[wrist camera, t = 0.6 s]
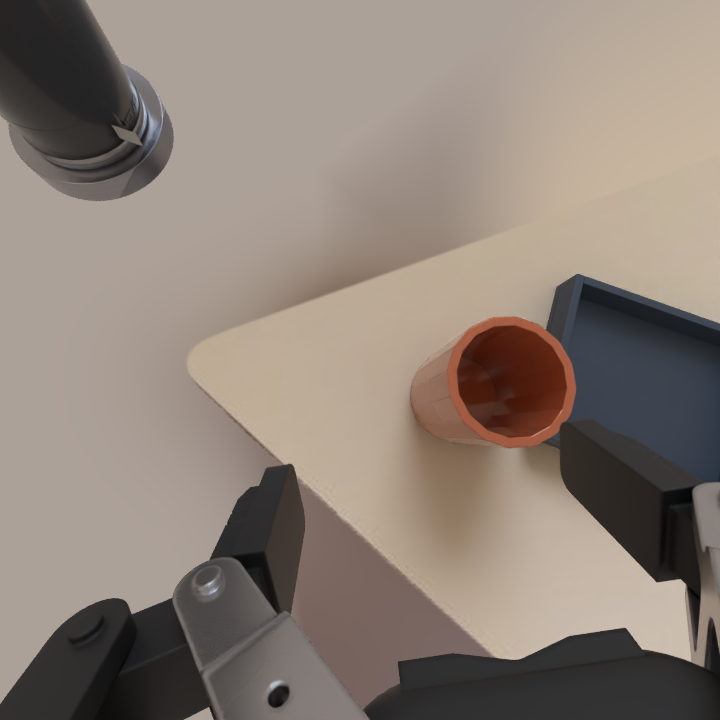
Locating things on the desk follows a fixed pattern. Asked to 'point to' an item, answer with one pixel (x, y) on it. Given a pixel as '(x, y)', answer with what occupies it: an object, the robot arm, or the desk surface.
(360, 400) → the desk surface
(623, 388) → the tray
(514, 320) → the tumbler
